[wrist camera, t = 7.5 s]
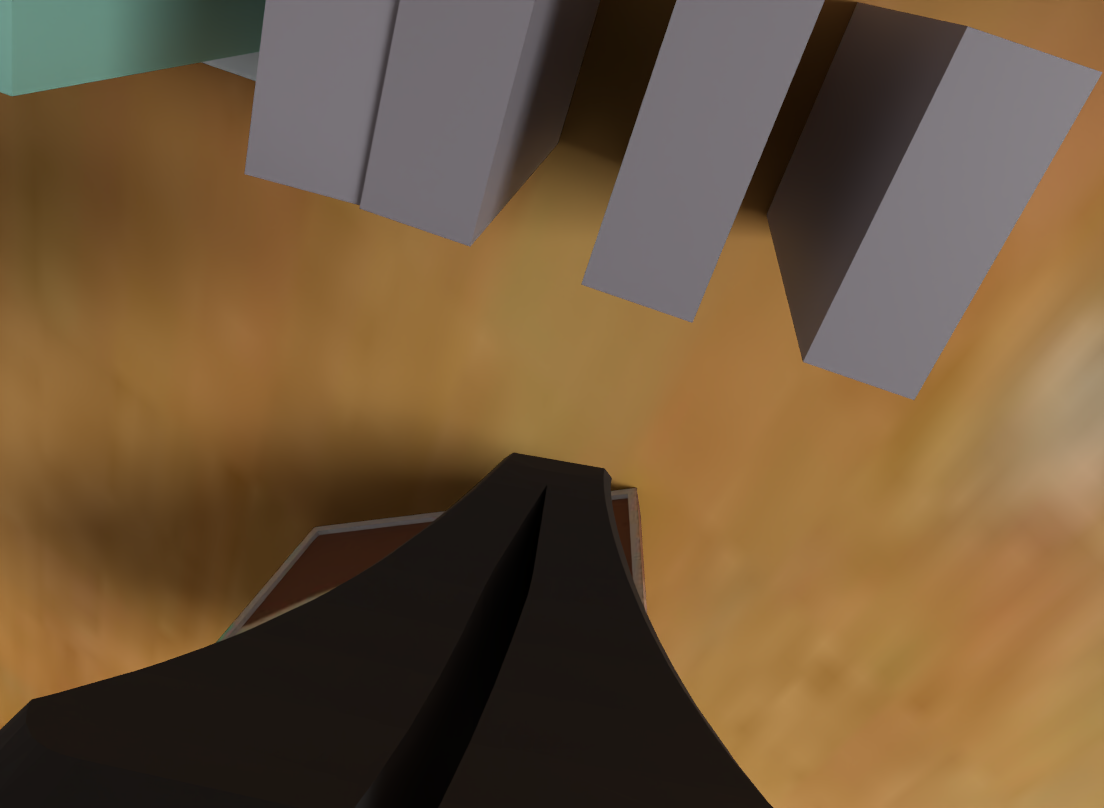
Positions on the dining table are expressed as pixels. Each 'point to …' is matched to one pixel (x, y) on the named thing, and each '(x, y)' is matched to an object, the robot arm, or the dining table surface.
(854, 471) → the dining table surface
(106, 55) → the domino
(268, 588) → the food container
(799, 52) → the domino
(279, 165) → the domino
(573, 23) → the domino
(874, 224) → the domino
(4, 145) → the dining table surface
